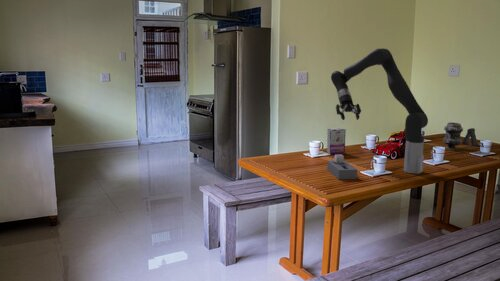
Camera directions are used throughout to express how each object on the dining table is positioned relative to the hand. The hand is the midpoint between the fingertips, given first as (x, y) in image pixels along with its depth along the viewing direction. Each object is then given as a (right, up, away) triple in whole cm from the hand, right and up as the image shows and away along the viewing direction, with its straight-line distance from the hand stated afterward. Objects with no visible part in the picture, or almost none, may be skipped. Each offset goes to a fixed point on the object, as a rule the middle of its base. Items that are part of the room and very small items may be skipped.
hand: (351, 119), depth 246 cm
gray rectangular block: (-10, -30, -11) cm, 33 cm away
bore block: (-9, -31, -16) cm, 36 cm away
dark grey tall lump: (+82, -18, +47) cm, 96 cm away
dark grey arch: (+102, -16, +61) cm, 119 cm away
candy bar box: (-2, -21, +34) cm, 40 cm away
